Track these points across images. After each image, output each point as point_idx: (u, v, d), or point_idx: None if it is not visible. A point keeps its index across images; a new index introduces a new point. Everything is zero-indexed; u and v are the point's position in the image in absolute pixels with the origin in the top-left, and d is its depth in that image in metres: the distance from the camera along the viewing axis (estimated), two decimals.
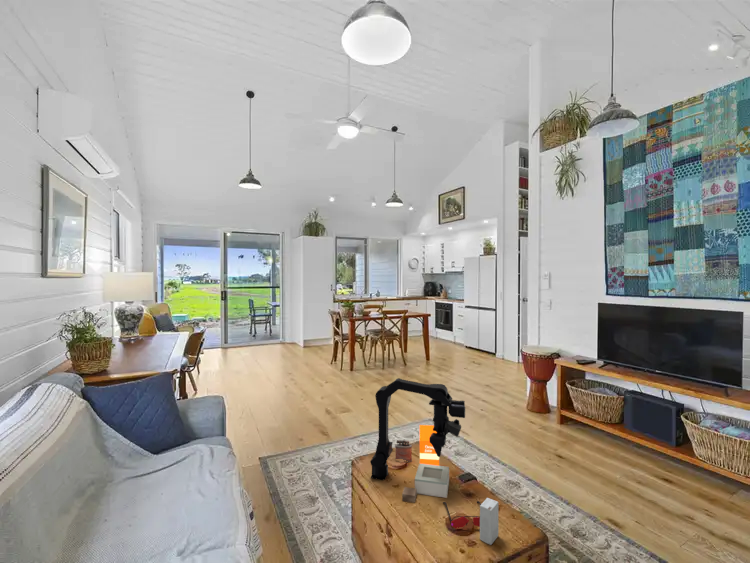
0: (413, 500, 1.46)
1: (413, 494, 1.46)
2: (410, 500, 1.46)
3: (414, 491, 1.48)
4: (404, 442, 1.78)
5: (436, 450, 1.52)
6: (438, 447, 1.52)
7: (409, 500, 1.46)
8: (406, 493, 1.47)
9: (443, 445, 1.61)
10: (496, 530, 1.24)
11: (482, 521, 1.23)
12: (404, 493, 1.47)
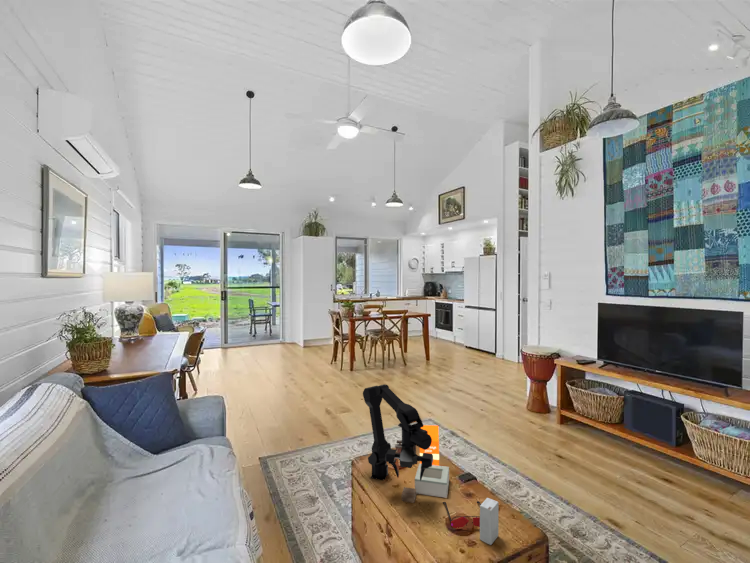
0: (412, 500, 1.45)
1: (412, 494, 1.46)
2: (409, 500, 1.46)
3: (413, 491, 1.48)
4: None
5: None
6: None
7: (408, 500, 1.46)
8: (405, 493, 1.47)
9: None
10: (496, 530, 1.24)
11: (482, 521, 1.23)
12: (403, 493, 1.47)
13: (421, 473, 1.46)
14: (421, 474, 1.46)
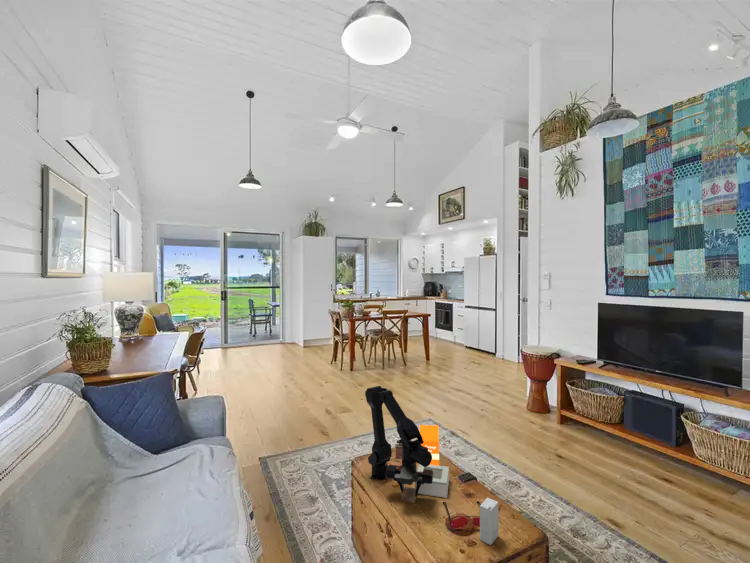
0: (413, 500, 1.45)
1: (413, 494, 1.46)
2: (410, 500, 1.46)
3: (414, 491, 1.48)
4: None
5: None
6: None
7: (409, 500, 1.46)
8: (406, 493, 1.47)
9: None
10: (496, 530, 1.24)
11: (482, 521, 1.23)
12: (404, 492, 1.47)
13: (417, 489, 1.47)
14: (417, 490, 1.47)
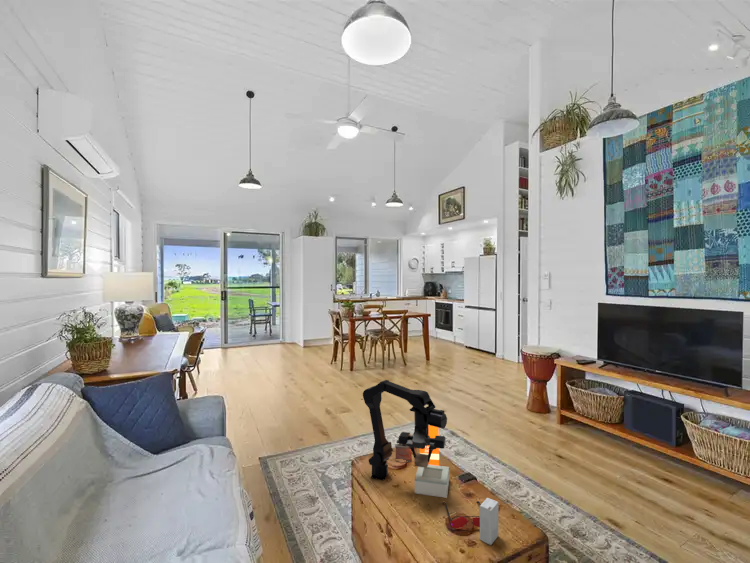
0: (425, 465, 1.49)
1: (425, 459, 1.50)
2: (422, 465, 1.49)
3: (426, 457, 1.52)
4: None
5: None
6: None
7: (421, 465, 1.49)
8: (418, 458, 1.51)
9: (428, 459, 1.51)
10: (496, 530, 1.24)
11: (482, 521, 1.23)
12: (416, 458, 1.51)
13: (429, 454, 1.50)
14: (429, 455, 1.50)
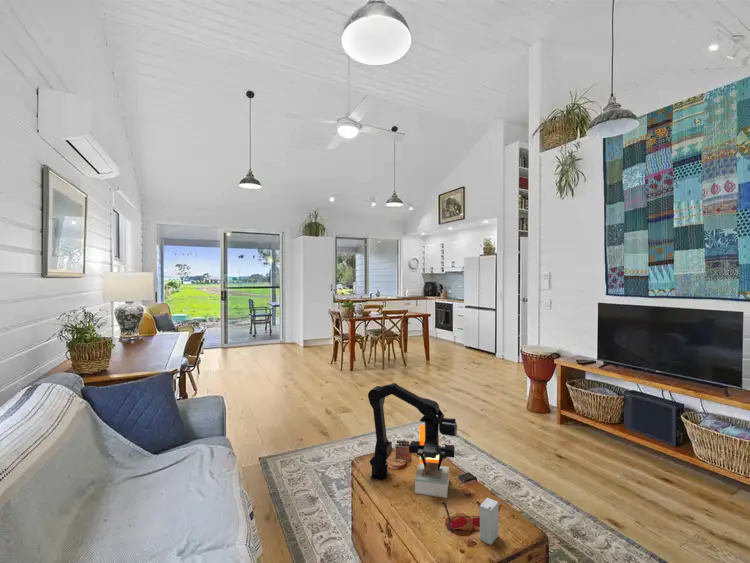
0: (435, 473, 1.53)
1: (435, 468, 1.53)
2: (432, 473, 1.53)
3: (436, 465, 1.55)
4: (404, 442, 1.78)
5: None
6: None
7: (431, 473, 1.53)
8: (429, 467, 1.54)
9: None
10: (496, 530, 1.24)
11: (482, 521, 1.23)
12: (427, 466, 1.54)
13: (439, 463, 1.54)
14: (439, 464, 1.54)
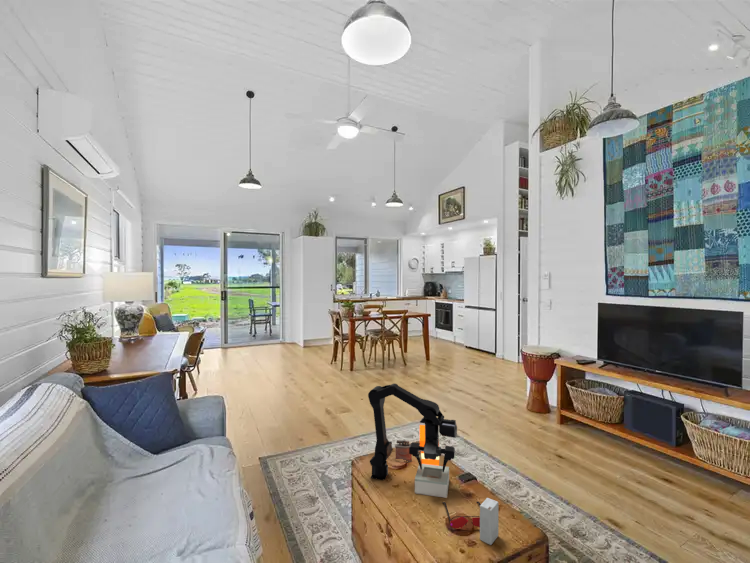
0: None
1: None
2: None
3: None
4: (404, 442, 1.78)
5: None
6: None
7: None
8: None
9: None
10: (496, 530, 1.24)
11: (482, 521, 1.23)
12: None
13: (444, 465, 1.54)
14: (444, 466, 1.54)
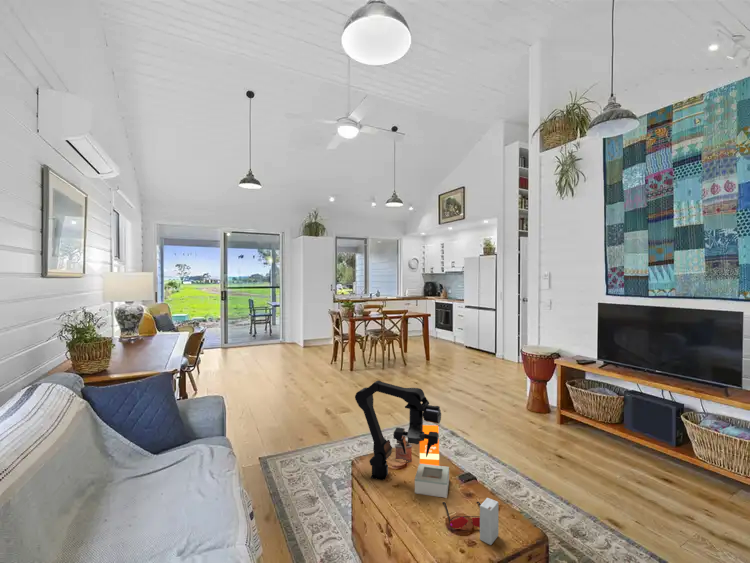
0: None
1: None
2: None
3: None
4: None
5: None
6: None
7: None
8: None
9: None
10: (496, 530, 1.24)
11: (482, 521, 1.23)
12: None
13: (427, 450, 1.55)
14: (427, 451, 1.55)
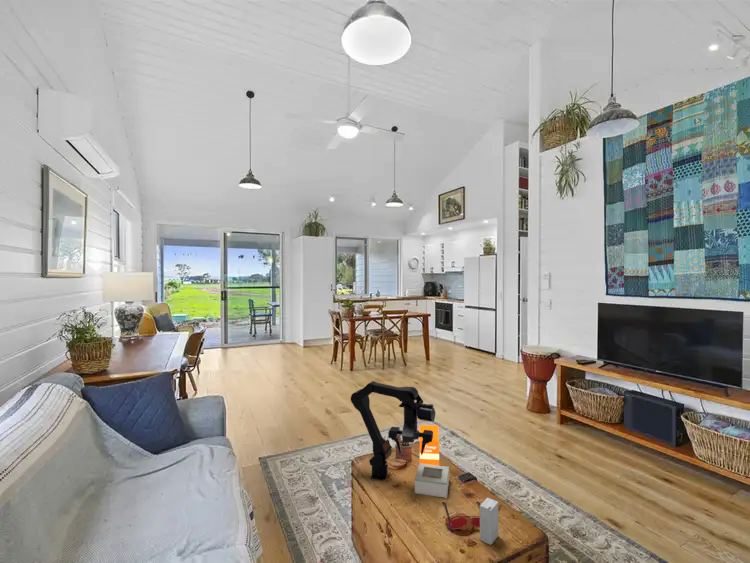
0: None
1: None
2: None
3: None
4: (404, 442, 1.78)
5: None
6: None
7: None
8: None
9: (421, 453, 1.57)
10: (496, 530, 1.24)
11: (482, 521, 1.23)
12: None
13: (422, 448, 1.56)
14: (422, 449, 1.56)
